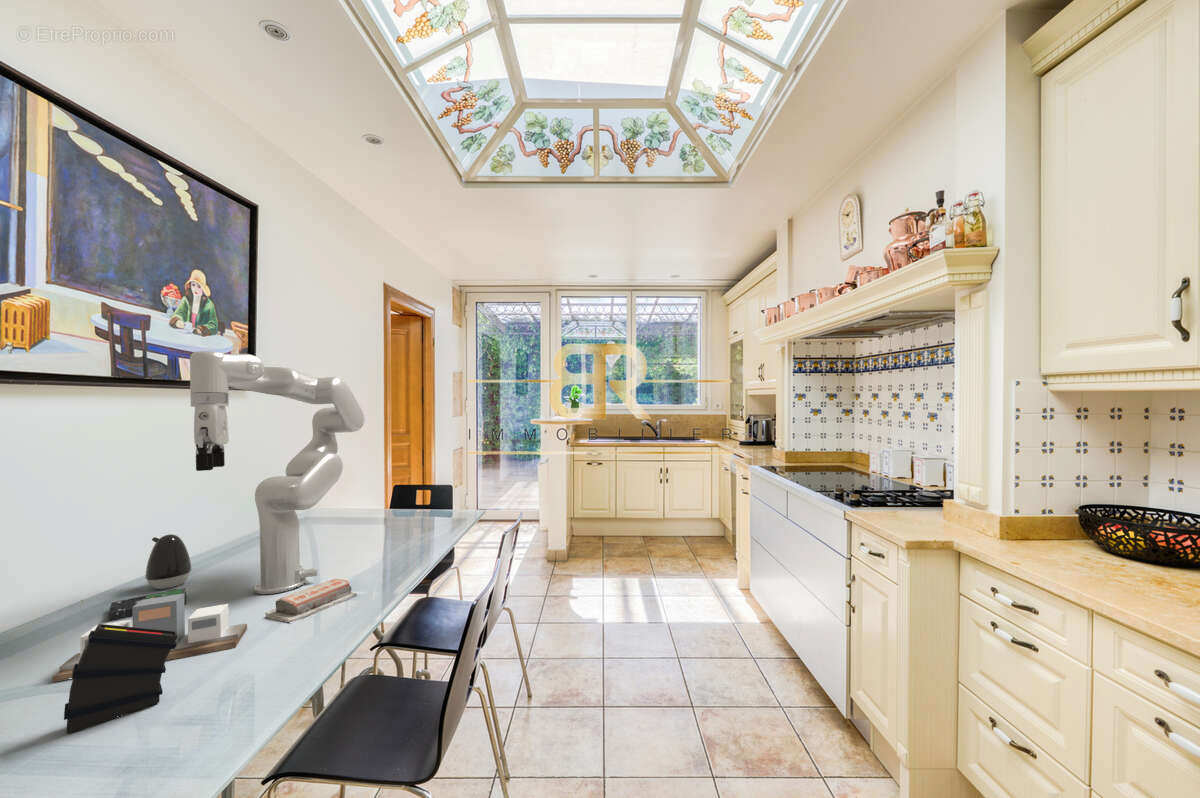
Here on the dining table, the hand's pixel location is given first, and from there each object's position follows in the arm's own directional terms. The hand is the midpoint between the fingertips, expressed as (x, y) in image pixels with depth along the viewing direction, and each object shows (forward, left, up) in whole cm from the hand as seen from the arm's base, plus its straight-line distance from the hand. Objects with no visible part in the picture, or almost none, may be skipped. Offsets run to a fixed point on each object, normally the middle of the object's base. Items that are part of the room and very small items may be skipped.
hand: (210, 468), depth 122 cm
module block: (+4, +20, -34) cm, 40 cm away
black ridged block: (+1, +44, -36) cm, 57 cm away
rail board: (+4, +20, -36) cm, 42 cm away
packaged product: (-22, +7, -37) cm, 44 cm away
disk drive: (+17, -15, -37) cm, 43 cm away
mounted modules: (+4, +20, -34) cm, 40 cm away
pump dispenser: (+19, -34, -36) cm, 53 cm away
